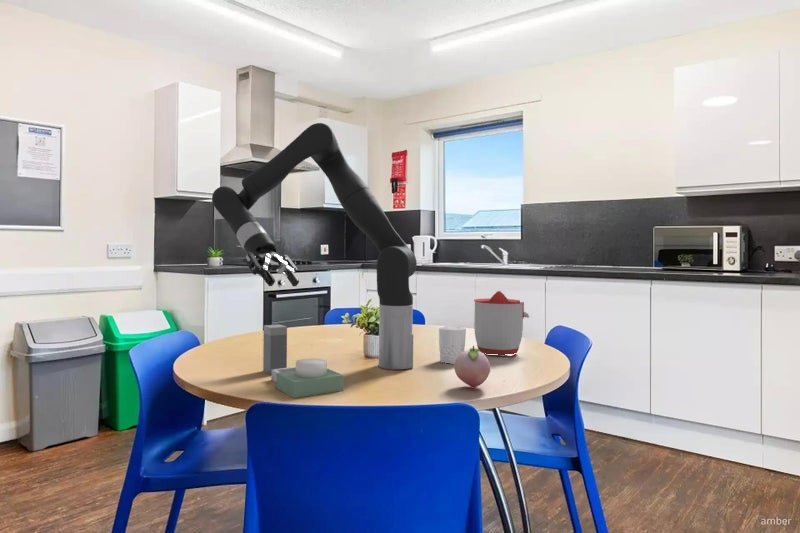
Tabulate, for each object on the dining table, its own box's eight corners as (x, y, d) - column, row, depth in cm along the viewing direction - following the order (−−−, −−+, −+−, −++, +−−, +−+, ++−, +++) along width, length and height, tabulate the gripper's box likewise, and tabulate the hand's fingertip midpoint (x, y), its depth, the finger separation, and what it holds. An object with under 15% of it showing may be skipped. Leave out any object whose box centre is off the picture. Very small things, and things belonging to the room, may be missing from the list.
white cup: (469, 361, 156) (470, 327, 156) (457, 366, 149) (458, 330, 149) (445, 358, 160) (446, 325, 160) (433, 362, 153) (433, 328, 153)
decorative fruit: (452, 382, 130) (453, 342, 129) (486, 383, 129) (487, 342, 129) (455, 393, 120) (456, 349, 120) (491, 393, 120) (492, 349, 120)
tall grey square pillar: (263, 371, 139) (263, 325, 139) (279, 369, 142) (279, 324, 142) (270, 374, 135) (270, 327, 135) (286, 372, 138) (287, 326, 138)
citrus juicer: (534, 359, 160) (535, 293, 160) (476, 358, 161) (477, 292, 160) (522, 349, 176) (523, 289, 175) (470, 348, 176) (471, 288, 176)
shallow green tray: (263, 380, 129) (263, 354, 129) (308, 374, 136) (309, 349, 136) (294, 398, 114) (294, 368, 114) (343, 390, 121) (343, 362, 121)
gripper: (241, 229, 138) (271, 273, 131) (282, 234, 150) (311, 274, 143) (227, 250, 141) (256, 294, 134) (268, 253, 152) (297, 294, 146)
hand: (285, 284), depth 138 cm, fingers open, 8 cm apart
